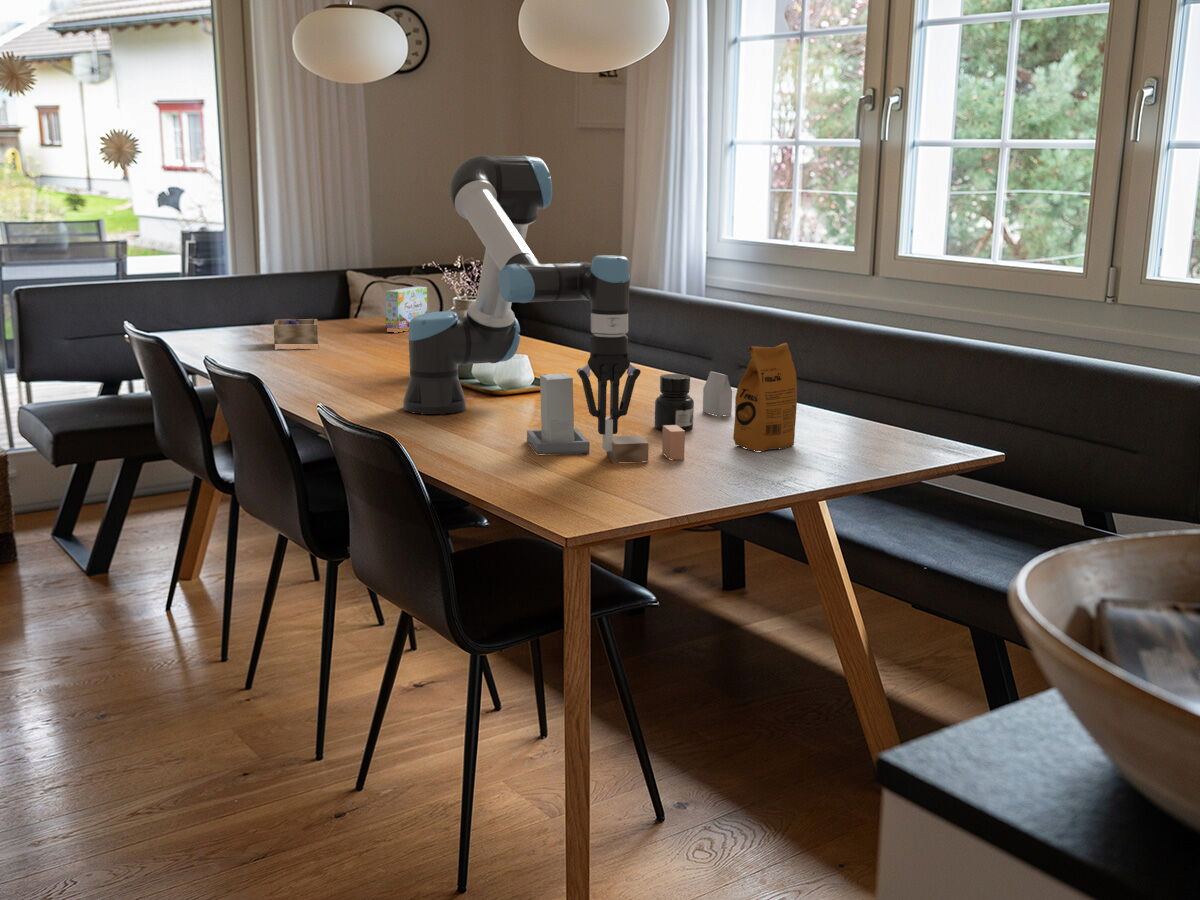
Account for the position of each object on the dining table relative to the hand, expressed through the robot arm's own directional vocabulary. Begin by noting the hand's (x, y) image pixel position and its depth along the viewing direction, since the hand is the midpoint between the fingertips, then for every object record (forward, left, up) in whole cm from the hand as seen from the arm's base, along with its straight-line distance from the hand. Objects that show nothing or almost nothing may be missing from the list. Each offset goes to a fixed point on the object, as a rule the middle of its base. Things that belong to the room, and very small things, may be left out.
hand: (607, 449), depth 241 cm
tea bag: (+37, +41, -2) cm, 55 cm away
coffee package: (+36, +6, -2) cm, 37 cm away
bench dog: (+14, 0, -2) cm, 14 cm away
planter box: (-65, +167, -2) cm, 179 cm away
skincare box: (-8, +12, -2) cm, 15 cm away
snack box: (-27, +204, -2) cm, 206 cm away
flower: (-67, +170, -2) cm, 183 cm away
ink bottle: (+22, +27, -2) cm, 35 cm away
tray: (-8, +12, -2) cm, 15 cm away
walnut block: (+4, 0, -2) cm, 5 cm away
